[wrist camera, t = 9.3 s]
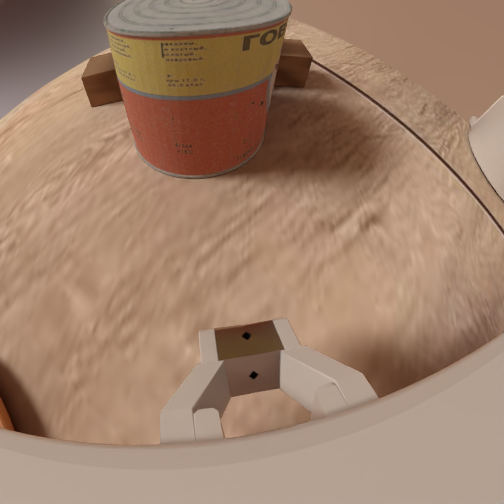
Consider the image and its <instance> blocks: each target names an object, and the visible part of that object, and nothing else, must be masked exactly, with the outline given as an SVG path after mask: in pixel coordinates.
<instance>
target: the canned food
mask: <svg viewBox="0 0 504 504" xmlns="http://www.w3.org/2000/svg"><path fill="white" fill-rule="evenodd" d="M291 12H292V6H291V4H290V3H289V1H288V0H122V1H120V2H119V3H117V4H116V5H114V6H113V7H112V8H111V9H110V10H109V11H108V12H107V13H106V15H105V16H104V25H105V27H106V28H107V32H108V38H109V43H110V47H111V52H112V57H113V61H114V65H115V69H116V74H117V78H118V82H119V86H120V90H121V94H122V97H123V101H124V105H125V108H126V112H127V116H128V119H129V123H130V126H131V130H132V133H133V136H134V143H135V147H136V150H137V152H138V154H139V156H140V157H141V158H142V160H143V161H144V162H145V163H146V164H148V165H149V166H150V167H152V168H153V169H155V170H157V171H159V172H161V173H163V174H166V175H170V176H173V177H179V178H191V179H196V178H208V177H213V176H218V175H221V174H225V173H227V172H230V171H232V170H234V169H237V168H238V167H240V166H242V165H243V164H245V163H246V162H248V161H249V160H250V159H251V158H252V157H253V156H254V155H255V154H256V153H257V151H258V150H259V148H260V147H261V145H262V142H263V139H264V135H265V125H266V120H267V115H268V110H269V105H270V101H271V96H272V91H273V86H274V82H275V77H276V72H277V68H278V63H279V59H280V54H281V49H282V45H283V40H284V36H285V31H286V27H287V22H288V18H289V16H290V15H291Z"/></svg>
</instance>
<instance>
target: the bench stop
mask: <svg viewBox="0 0 504 504" xmlns="http://www.w3.org/2000/svg"><path fill="white" fill-rule="evenodd" d="M312 59H313V57H312V56H311V54H310V53H309V51H308V50H307V48H306V47H305V46H304V44H303V43H302V41H301V40H292V39H284V40H283V45H282V49H281V54H280V59H279V63H278V68H277V72H276V77H275V82H274V86H291V87H304V85H305V82H306V78H307V75H308V72H309V69H310V65H311V62H312ZM82 81H83V84H84V87H85V90H86V93H87V96H88V98H89V101H90V104H91V107H95V106H99V105H103V104H107V103H111V102H116V101H121V100H123V97H122V94H121V90H120V86H119V82H118V78H117V74H116V69H115V65H114V61H113V57H112V53H107V54H104V55H100V56H96V57H92V58H90V60H89V62H88V64H87V67H86V69H85V71H84V73H83V75H82Z"/></svg>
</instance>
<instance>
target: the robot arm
mask: <svg viewBox="0 0 504 504" xmlns="http://www.w3.org/2000/svg"><path fill="white" fill-rule="evenodd" d="M469 121H470V125H471V130H470V132H469V142H470V145H471V148H472V151H473V153H474V156H475V158H476V160H477V162H478V164H479V165H480V167H481V169H482V171H483V172H484V174H485V176H486V177H487V179H488V180H489V182H490V183H491V185H492V186H493V188H494V189H495V190H496V192H497V193H498V194H499V196H500V197H501V198H502V199H503V200H504V95H503V96H501V97H500V98H499V99H498V100H497V101H496V102H495V103H494V104H493V105H492V106H491V107H490V108H489V109H488V110H487V111H486V112H485V113H484V114H483V115H482V116H481V117H480V118H477V117H475V116H472V117H471V118H470V119H469ZM214 331H215V333H214ZM215 338H216V339H215ZM199 344H200V355H201V364H197V365H196V366H195V367H194V369H193V370H192V371H191V373H190V374H189V375H188V376H187V378H186V379H185V380H184V382H183V383H182V384H181V386H180V387H179V388H178V390H177V391H176V392H175V394H174V395H173V396H172V397H171V399H170V400H169V401H168V403H167V404H166V405H165V406H164V408H163V409H162V410H161V418H160V444H157V445H119V444H98V443H86V442H76V441H67V440H59V439H53V438H46V437H40V436H35V435H30V434H25V433H20V432H16V431H12V430H8V429H4V428H0V504H504V332H503V333H501V334H500V335H498V336H497V337H495V338H494V339H492V340H491V341H489V342H488V343H486V344H485V345H483V346H482V347H480V348H478V349H477V350H475V351H473V352H472V353H470V354H469V355H467V356H465V357H463V358H462V359H460V360H458V361H456V362H455V363H453V364H451V365H449V366H447V367H445V368H444V369H442V370H440V371H438V372H436V373H434V374H432V375H430V376H428V377H426V378H424V379H422V380H420V381H418V382H416V383H413V384H411V385H409V386H407V387H405V388H402V389H400V390H398V391H395V392H393V393H391V394H388V395H386V396H383V397H381V398H378V396H377V395H376V393H375V392H374V390H373V388H372V387H371V385H370V384H369V382H368V381H367V379H366V378H365V376H364V375H363V373H361V372H359V371H357V370H355V369H353V368H351V367H349V366H346V365H344V364H342V363H340V362H338V361H336V360H334V359H332V358H330V357H328V356H326V355H324V354H322V353H320V352H318V351H316V350H314V349H312V348H310V347H308V346H306V345H305V346H301V344H300V342H299V340H298V338H297V336H296V334H295V333H294V331H293V329H292V327H291V325H290V323H289V321H288V319H287V318H286V317H282V318H277V319H272V320H269V321H263V322H257V323H251V324H245V325H237V326H229V327H221V328H214V329H205V330H199ZM278 388H280V390H282V391H283V392H284V393H285V394H287V395H288V396H289V397H291V398H292V399H293V400H294V401H296V402H297V403H298V404H300V405H301V406H302V407H304V408H305V409H306V410H308V411H309V412H310V413H311V417H310V421H309V422H305V423H302V424H298V425H294V426H290V427H285V428H281V429H276V430H272V431H267V432H262V433H257V434H251V435H246V436H240V437H233V438H226V439H225V435H224V431H223V427H222V423H221V418H222V415H223V413H224V411H225V409H226V407H227V405H228V403H229V401H230V399H231V398H230V397H234V396H239V395H245V394H250V393H255V392H261V391H267V390H272V389H278Z"/></svg>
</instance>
